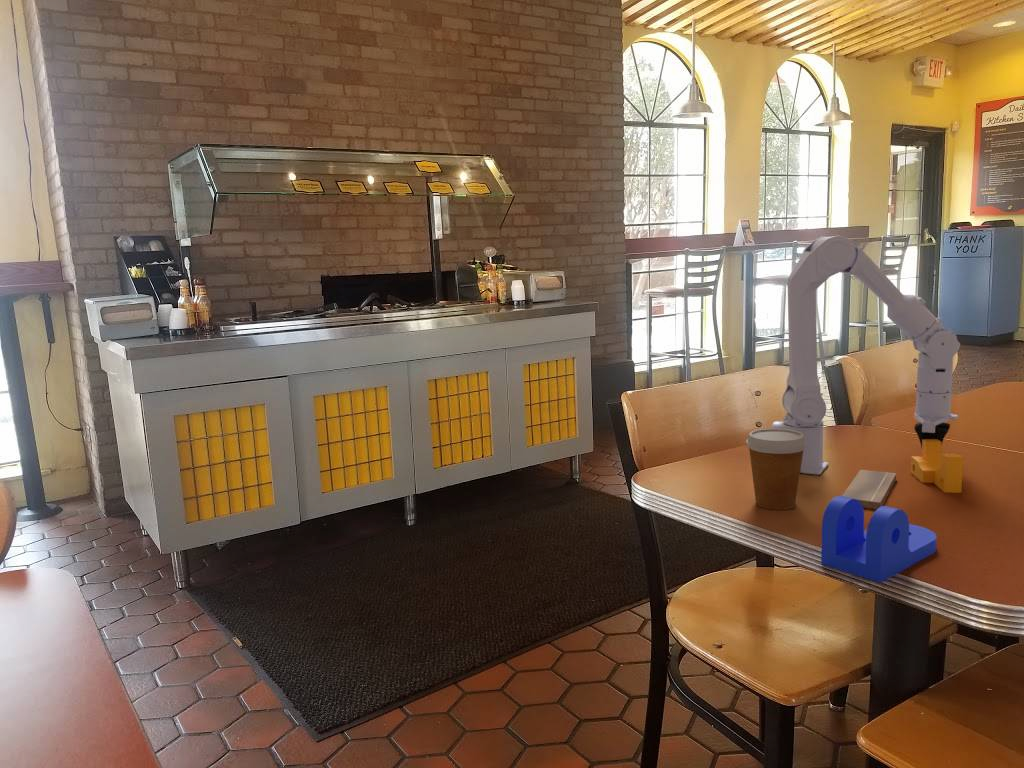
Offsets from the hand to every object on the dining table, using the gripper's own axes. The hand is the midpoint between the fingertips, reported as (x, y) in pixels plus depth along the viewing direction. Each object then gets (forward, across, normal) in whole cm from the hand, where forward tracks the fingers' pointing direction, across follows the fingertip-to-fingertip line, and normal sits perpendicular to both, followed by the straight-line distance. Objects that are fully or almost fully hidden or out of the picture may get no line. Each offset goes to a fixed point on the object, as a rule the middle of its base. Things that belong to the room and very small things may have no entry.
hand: (930, 461), depth 148 cm
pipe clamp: (+2, -9, -2) cm, 9 cm away
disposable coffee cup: (+1, -32, +20) cm, 38 cm away
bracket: (+2, -48, +1) cm, 48 cm away
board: (+1, -20, +8) cm, 21 cm away
